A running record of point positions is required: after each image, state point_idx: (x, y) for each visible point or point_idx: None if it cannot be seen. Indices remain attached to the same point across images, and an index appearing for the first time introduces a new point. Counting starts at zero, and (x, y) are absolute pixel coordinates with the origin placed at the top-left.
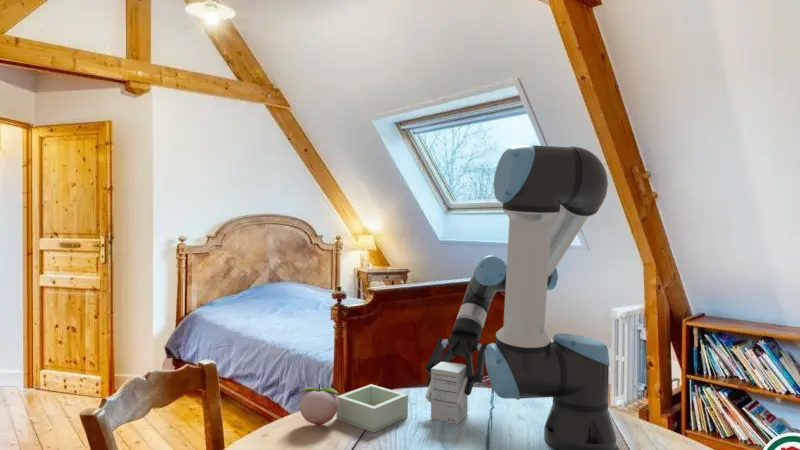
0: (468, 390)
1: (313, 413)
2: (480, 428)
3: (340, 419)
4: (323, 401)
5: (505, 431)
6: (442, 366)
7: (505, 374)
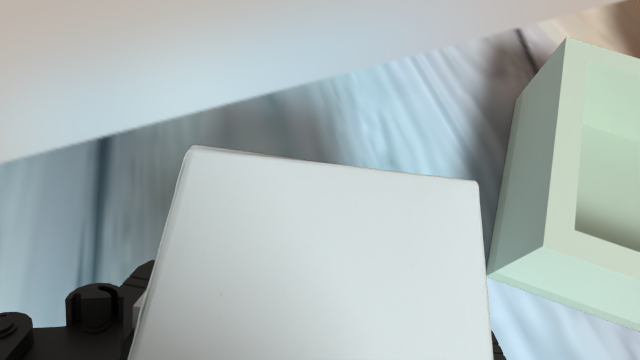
0: (144, 268)
1: None
2: (132, 263)
3: None
4: None
5: (11, 269)
6: (394, 272)
7: None
